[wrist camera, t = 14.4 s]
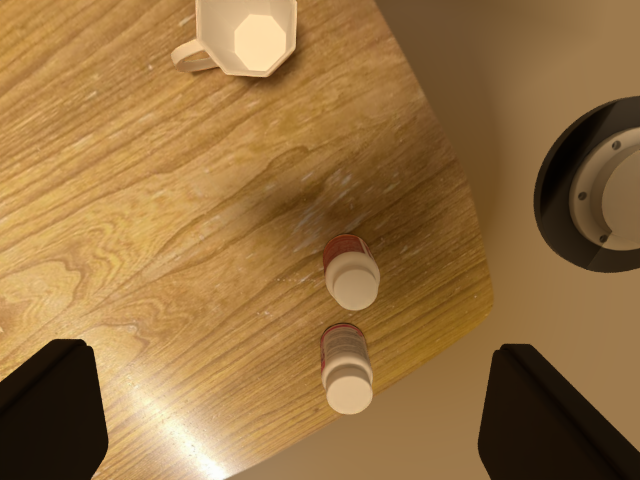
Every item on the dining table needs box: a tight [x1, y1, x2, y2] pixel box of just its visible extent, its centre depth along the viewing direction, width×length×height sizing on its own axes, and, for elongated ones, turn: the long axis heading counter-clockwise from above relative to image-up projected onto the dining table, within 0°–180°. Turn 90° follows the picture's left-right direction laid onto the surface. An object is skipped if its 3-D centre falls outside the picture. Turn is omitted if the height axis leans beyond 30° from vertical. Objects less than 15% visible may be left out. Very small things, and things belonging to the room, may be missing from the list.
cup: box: [170, 0, 297, 77], centre depth 29 cm, size 7×10×8 cm
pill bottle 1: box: [323, 234, 380, 310], centre depth 34 cm, size 5×5×8 cm
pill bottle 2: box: [321, 324, 373, 414], centre depth 37 cm, size 5×5×8 cm
